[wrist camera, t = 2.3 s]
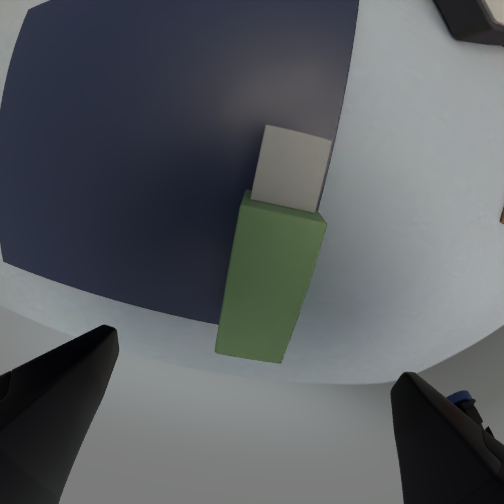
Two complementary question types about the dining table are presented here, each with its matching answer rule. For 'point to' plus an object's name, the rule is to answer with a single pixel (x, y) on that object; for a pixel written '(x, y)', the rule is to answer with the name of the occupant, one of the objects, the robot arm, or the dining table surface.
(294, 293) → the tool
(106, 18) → the napkin
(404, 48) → the dining table surface
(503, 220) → the coaster
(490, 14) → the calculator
